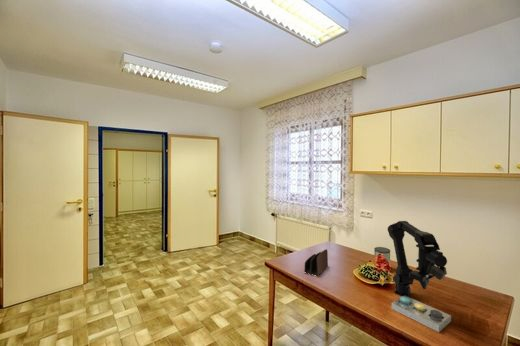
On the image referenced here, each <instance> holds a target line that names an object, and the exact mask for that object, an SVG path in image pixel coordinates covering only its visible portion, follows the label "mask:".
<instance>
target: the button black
mask: <svg viewBox="0 0 520 346" xmlns="http://www.w3.org/2000/svg"><path fill="white" fill-rule="evenodd" d="M439 311H440V310H439ZM439 311H436V310H431V311H430V314H431V317H432V318H434V319H437V320H439V321H441V320H442V313H441V312H439Z"/></svg>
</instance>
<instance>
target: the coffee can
mask: <svg viewBox="0 0 520 346" xmlns="http://www.w3.org/2000/svg"><path fill="white" fill-rule="evenodd" d="M378 254H383V255H384V256H385V258H386V259H387V260H388V262H389V264H390V265H391V249H389V248H387V247H383V246H376V247H374V259H375V258H376V257H377V255H378Z"/></svg>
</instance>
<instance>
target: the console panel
mask: <svg viewBox="0 0 520 346" xmlns="http://www.w3.org/2000/svg"><path fill="white" fill-rule="evenodd" d="M402 297H407V298H409V299H410V305H409V306H406V305H404V304H402V303H400V297H399V298H398V299H396V300H394V301H393V302H391V310H393V311H396V312H397V313H399V314H402V315H403V316H406V317H408V318H409V319H411V320H413V321H416V322H417V323H420V324H422V325H423V326H426V327H428V328H430V329H431V330H434V332H435V331H436V332H437V333H440V332H441V331H442V330H443V329H445V328H446V326H448V325H449V324H450V323H451V322H452V315H451V314H448V313H447V312H444V311H441V310H439V309H438V308H437V309H436V308H435V307H433V306H430V305H427V304H425V303H423V302H421V301H418V300H416V299H414V298H412V297H409V296H405V295H404V296H402ZM415 303H420V304H423V305H424V306H425V307H426V310H425V312H424V313H421V312H419V311H417V310H415V307H414V304H415ZM431 310H436V311H439V312H441V313H442V320H441V321H439V320H437V319H434V318H432V317H431V314H430V311H431Z"/></svg>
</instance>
